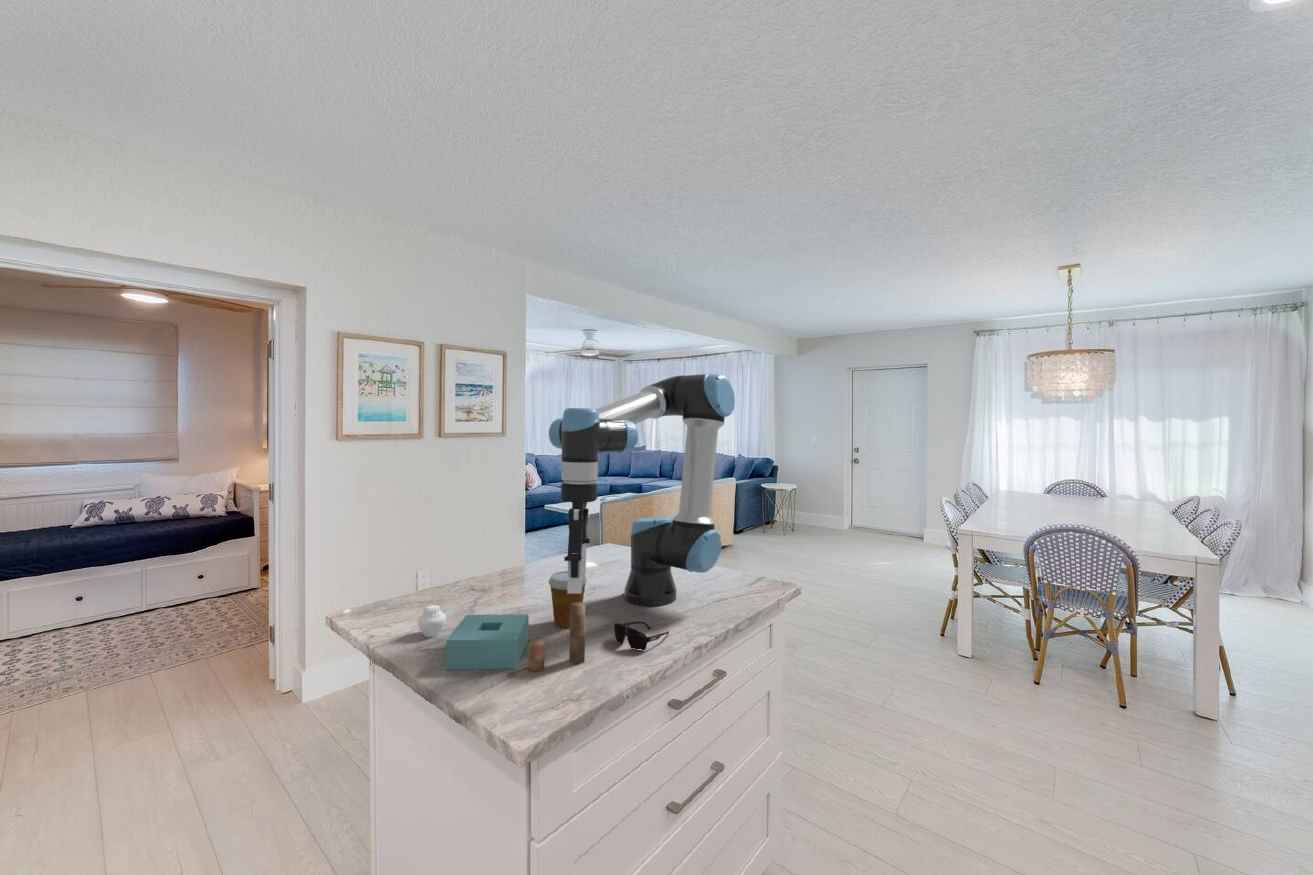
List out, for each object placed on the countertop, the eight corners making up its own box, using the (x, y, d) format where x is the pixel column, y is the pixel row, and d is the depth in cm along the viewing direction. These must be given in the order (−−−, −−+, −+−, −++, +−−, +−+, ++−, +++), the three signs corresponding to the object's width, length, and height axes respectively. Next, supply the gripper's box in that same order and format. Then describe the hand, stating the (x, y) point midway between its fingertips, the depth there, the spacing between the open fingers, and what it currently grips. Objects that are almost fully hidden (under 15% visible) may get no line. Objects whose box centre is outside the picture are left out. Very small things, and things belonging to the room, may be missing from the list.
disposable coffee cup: (540, 627, 129) (541, 578, 129) (560, 614, 138) (561, 568, 137) (574, 633, 126) (575, 583, 125) (593, 619, 135) (593, 572, 134)
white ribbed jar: (416, 641, 119) (416, 610, 119) (418, 631, 125) (418, 602, 125) (446, 637, 122) (446, 607, 122) (446, 627, 127) (446, 599, 127)
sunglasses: (607, 641, 121) (610, 619, 122) (642, 633, 130) (644, 613, 131) (641, 656, 114) (643, 632, 115) (675, 646, 123) (677, 624, 124)
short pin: (545, 664, 109) (545, 640, 109) (543, 671, 106) (543, 647, 106) (529, 664, 109) (530, 640, 109) (527, 672, 106) (527, 647, 106)
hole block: (528, 639, 121) (528, 614, 121) (516, 668, 107) (516, 639, 107) (466, 640, 120) (466, 614, 120) (446, 669, 106) (446, 640, 106)
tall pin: (585, 657, 113) (585, 602, 112) (584, 664, 110) (584, 607, 109) (570, 657, 113) (570, 602, 112) (568, 664, 109) (569, 607, 109)
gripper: (566, 475, 122) (565, 566, 123) (553, 488, 97) (551, 602, 98) (599, 476, 123) (597, 566, 123) (594, 489, 98) (592, 602, 98)
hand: (577, 582), depth 110 cm, fingers open, 13 cm apart
